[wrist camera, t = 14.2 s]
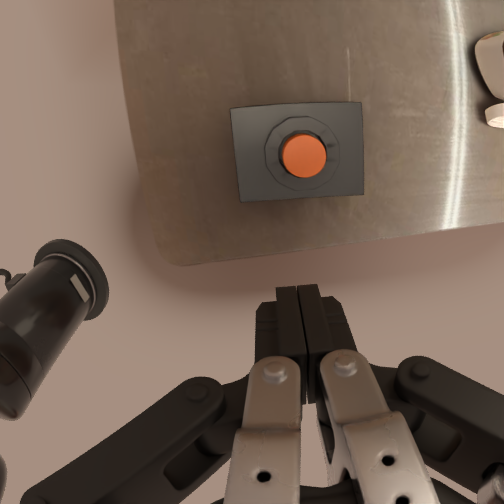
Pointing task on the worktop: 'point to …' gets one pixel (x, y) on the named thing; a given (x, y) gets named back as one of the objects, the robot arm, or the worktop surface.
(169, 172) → the worktop surface
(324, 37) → the worktop surface
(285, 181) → the button box
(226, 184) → the worktop surface
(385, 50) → the worktop surface
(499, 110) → the spread jar
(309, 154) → the button
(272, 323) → the robot arm
